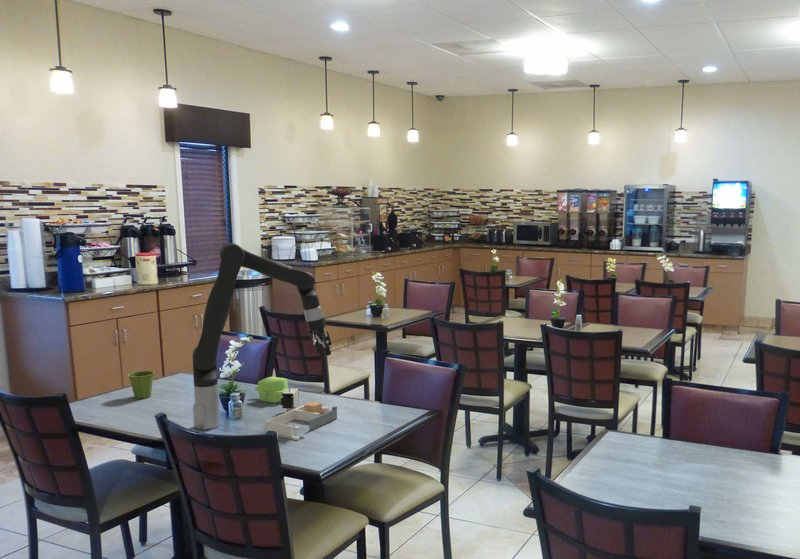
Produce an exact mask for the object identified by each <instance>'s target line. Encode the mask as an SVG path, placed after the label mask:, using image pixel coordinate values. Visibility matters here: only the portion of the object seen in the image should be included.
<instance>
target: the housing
mask: <svg viewBox="0 0 800 559" xmlns="http://www.w3.org/2000/svg"><path fill="white" fill-rule="evenodd" d="M329 411H330V408H329V407H327V406H322V414H324V413H326V412H329ZM317 416H320V413H314V412H309V411H305V404H303V405H301V406H299V407H296V409H293V410H291V411H289V412H287V411H286V412H283V413H282V414H279V415H276V416H274V417H271V418H268V419H265V421H264V433H266V432H267V431H269V430H274V431H276V432H277V433H278V436H277V437H280V438H284V439H289V440H293V441H294V440H295V441H300V440H302V439H304V438H305V436H299V435H296V434H294V430H298V429H301V428H302V427H303V426H302V425H301V424H295V423H294V424H287V423H290V422H292V421H294V420H298V421H304V422H308V423H309V420H310V419H313V418H315V417H317Z"/></svg>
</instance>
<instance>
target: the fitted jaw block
mask: <svg viewBox="0 0 800 559" xmlns="http://www.w3.org/2000/svg"><path fill="white" fill-rule="evenodd" d="M304 405H305V411H309V412H314V413H320V415H322V407H323V402H318V401H317V402H316V401H310V402H308V403H306V404H304Z"/></svg>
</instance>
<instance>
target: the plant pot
mask: <svg viewBox="0 0 800 559" xmlns="http://www.w3.org/2000/svg"><path fill="white" fill-rule="evenodd" d="M155 373H156V372H155V371H154V370H153V371H152V370H142V371H141V370H139V371H135V372H133V371H132V372H130V373H128V374H127V377H128V378H129V381H130V384H131V387H132V392H133V397H134V399H137V400H140V399H143V400H144V399H148V398H150V397H151V396H152V392H153V391H152V388H153V379H154V376H155Z"/></svg>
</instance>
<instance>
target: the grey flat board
mask: <svg viewBox="0 0 800 559" xmlns="http://www.w3.org/2000/svg"><path fill="white" fill-rule="evenodd" d="M337 419H338V407H337V406H335V405H334V406H332V407H331V410H329V412H326V413H324V414H322V415H320V416H317V417H315V418H313V419H310V420H309V422H308V425H309V426H308V429H309V431H313V430H315V429H318V428H319V427H322V426H324V425H325V424H328V423H330V422H333V421H335V420H337Z"/></svg>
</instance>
